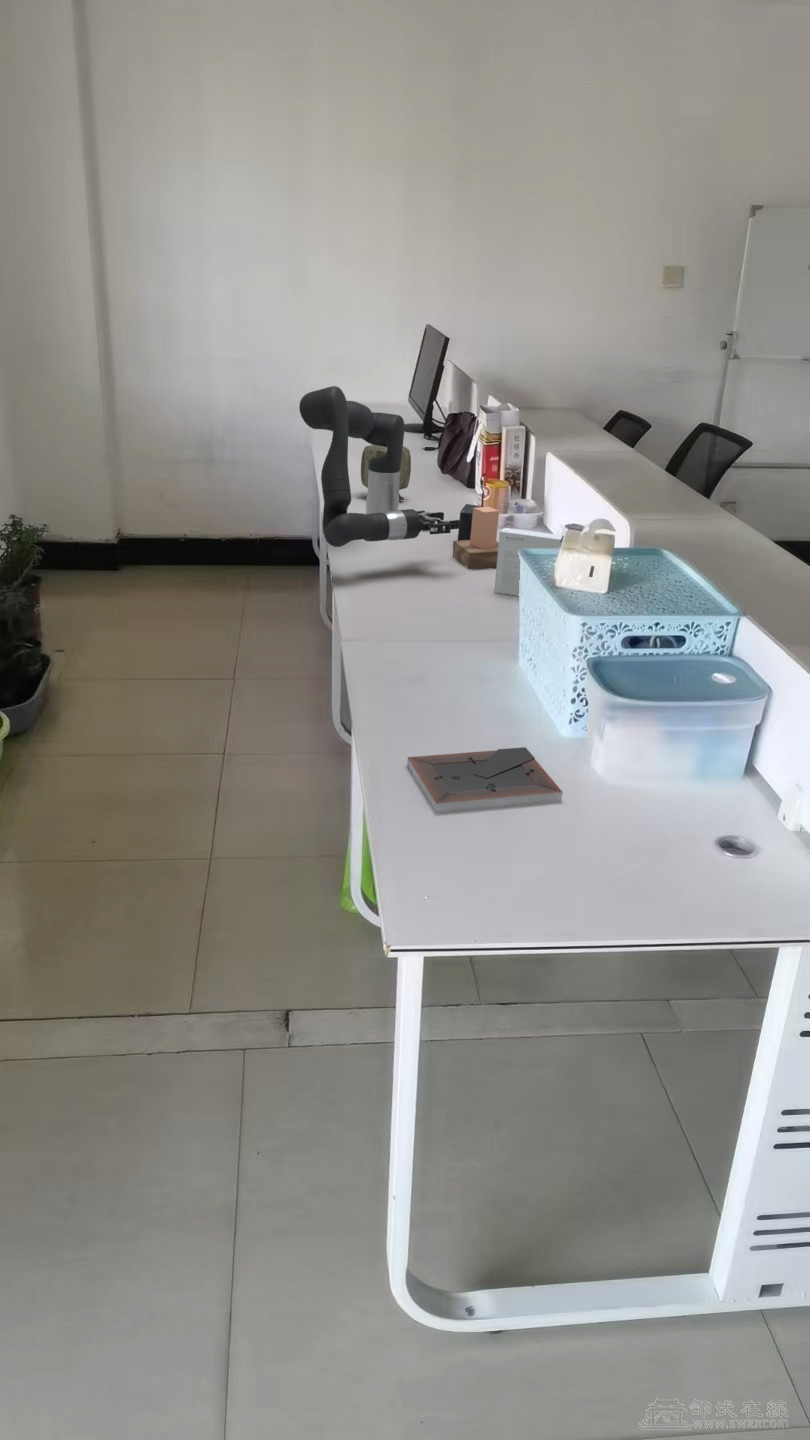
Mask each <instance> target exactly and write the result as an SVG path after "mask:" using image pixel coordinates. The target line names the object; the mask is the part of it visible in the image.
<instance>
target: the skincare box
mask: <svg viewBox="0 0 810 1440" xmlns="http://www.w3.org/2000/svg"><path fill="white" fill-rule="evenodd" d="M562 536H564V535H562V534H554V533H547V532H539V531H531V530H524V529H517V528H508V527H504V528H502V529H501V530H499V536H498V537H499V538H498V542H499V547H498V556H497V567H496V568H495V569H496V571H495V580H494V581H495V582H494V590H493V592H495V593H494V594H499V593H501V595H506V594H510V595H509V596H512V595H516V596H515V597H519V596H518V594H519V580H520V559H519V555H518V550H519V549H523V548H558V547H559V545H560V540H561V538H562Z"/></svg>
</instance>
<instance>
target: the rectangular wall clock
mask: <svg viewBox="0 0 810 1440" xmlns="http://www.w3.org/2000/svg"><path fill="white" fill-rule="evenodd" d="M406 761H407V762H406V765H407V768H409V771H410V772H411V774H412V776H413V777H414V779H415V781H416V783H417V784H418V785H419V787H420V788H421V790H422V792H423V794H424V795H425V798H426V799H427V800H428V802H429V804H430V805H431V807H432V809H433V810H434V812H435V813H441V812H452V811H460V810H461V811H463V810H473V809H482V808H484V809H485V808H493V807H494V808H495V807H496V808H497V807H503V806H517V805H526V804H535V803H536V804H537V803H545V802H546V803H549V802H556V801H558V802H559V801H562V799H563V790H562V789H561V788H560V787H559V785H557V783H556V782H555V781H554V780H553V779H552V777H550V776H549V774H548V773H547V772H546V770H545V769H544V768H543V767H542V765H541V764H540V763H539V762H538V761H537V760H536V758H535V756H533V754H532V753H531V752H530V750H529V749H528V748H527V747H525V746H523V747H512V748H510V747H509V748H499V749H497V750H486V751H485V750H484V751H482V750H481V751H471V752H459V753H458V752H457V753H444V754H431V755H421V756H420V755H419V756H408V757H407V760H406Z"/></svg>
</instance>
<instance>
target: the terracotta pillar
mask: <svg viewBox="0 0 810 1440" xmlns="http://www.w3.org/2000/svg"><path fill="white" fill-rule="evenodd" d="M499 516H500V510H499V509H495V508H493V507H491V506H485V507H478V508H473V516H472V527H471V537H470V544H471V545H473V546H475V547H477V548H480V549H485V548H493V547H496V541H497V537H498V526H499Z"/></svg>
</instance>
